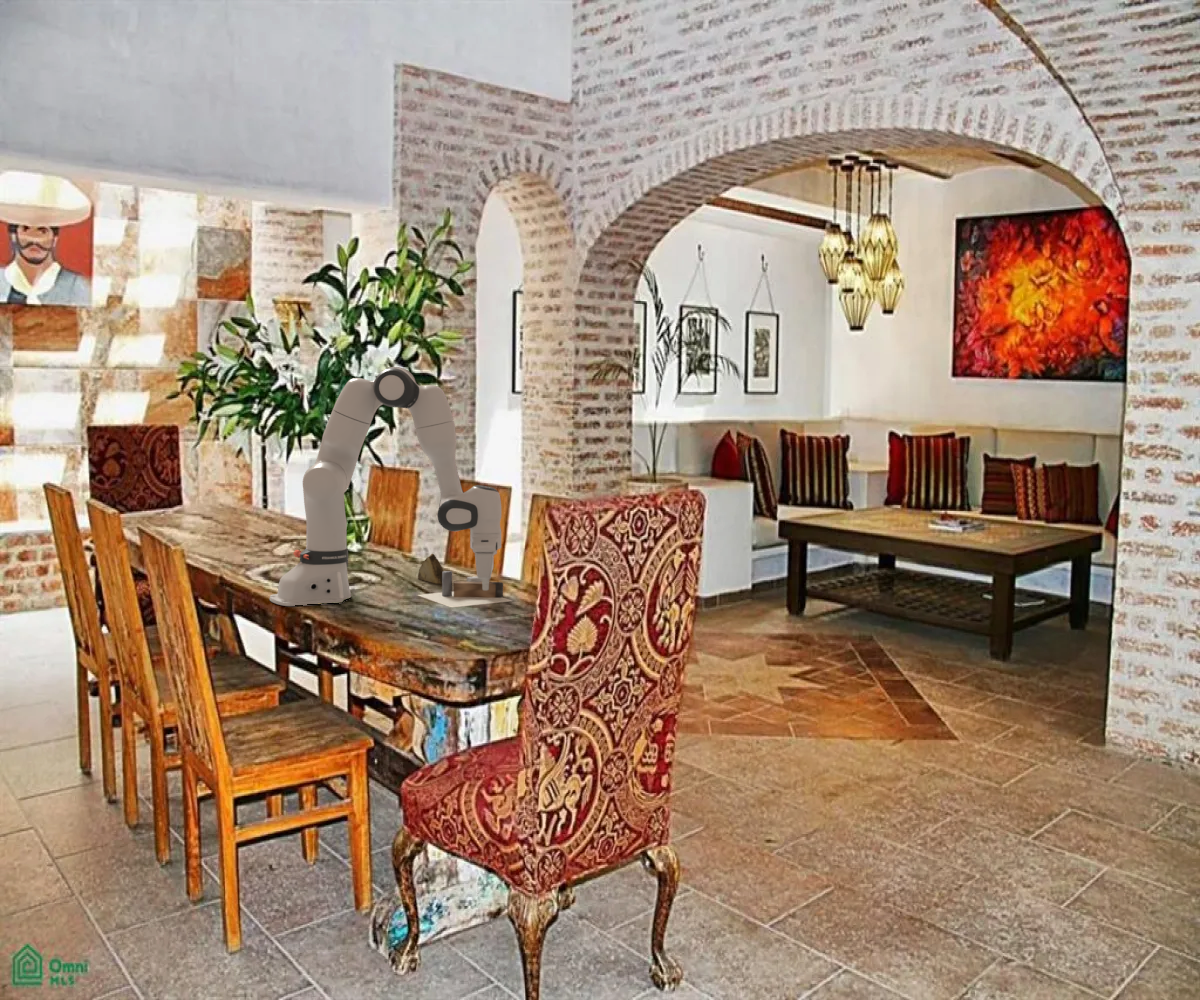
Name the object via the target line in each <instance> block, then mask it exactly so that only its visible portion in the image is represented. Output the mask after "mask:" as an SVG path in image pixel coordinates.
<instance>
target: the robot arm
mask: <svg viewBox="0 0 1200 1000" xmlns="http://www.w3.org/2000/svg"><path fill="white" fill-rule="evenodd" d="M447 398H448V397H447V396H446V393H445V392H444V390H443V389H442V388H441V387H440V386H437V385H433V384H429V385H428V384H427V385H420V384H418V383H417V381H416V378H415V376H414V374H413V373H412V372H410V371H409V370H407V369H406V368H404V367H400V366H391V367H388V368H386V369H384V370H382V371H380V372H378V374H377V375H376V377H375V379H374V380H368V379H365V378H361V377H355V378H354V377H353V378H351V379H349V380H348V381H347V382H346V383H345V385H344V386H343V388H342V389H341V392H340V393H339V395H338V397H337V399H336V401H335V403H334V406H333V408H332V409H331V410H332V411H331V412H330V413H331V414H330V416H329V417H328V421H327V424H326V426H325V429H324V431H323V434H322V438H321V444H320V447H319V450H318V453H317V457H316V460H315V462H314V464H313V465H311V466H309V468H307V470H306V471H305V473H304V475H303V477H302V478H303V479H302V488H303V489H302V491H303V503H304V510H305V512H304V513H305V520H306V521H305V522H306V528H305V529H306V535H305V536H306V538H305V539H306V541H305V542H306V544H305V545H306V548H305V549H304V550H299V549H295V550H294V552H293V553H292V554H293V555H294V557H295V558H299V562H298V563H297V564H296V565H295V566H294V567H292V568H291V569H289V571H287V572H286V573H285V574H283V575H282V576H281V577H280V579H279V582H278V588H277V593H275V594H274V593H273V594H270V595H269V601H270V602H271V603H274V604H276V605H280V606H285V607H296V606H295V605H303V606H308V605H307V604H318V603H332V602H342V601H343V600H344V599H347V598H350V597H351V596H352V593H351V589H350V588H351V587H350V585H349V576H348V567H349V550H348V548H347V517H346V508H345V493H346V491H347V490H348V489H349V486H350V484H351V481H352V479H353V476H354V472H355V469H356V466H357V463H358V459H359V455H360V453H361V450H362V447H363V445H364V441H366V437H367V434H368V431H369V429H370V426H371V424H372V421H373V419H374V416H375V414H376V412H377V410H378V409H379V408H380V407H381V406H383V405H384V406H387V407H390V408H401V409H406V410H408V411H409V412H410V414H411V418H412V421H413V426H414V430H415V433H416V434H415V435H416V437H417V440H418V443H419V445H420V447H421V450H422V452H423V453H424V454H425V455H426V456H427V458H428V459H429V460H430V461H431V463H432V466H433V469H434V471H435V476H436V479H437V483H438V484H437V485H438V487H439V492H440V500H439V505H438V510H437V520H438V523H439V525H440V526H441V527H442V528H443V529H445V530H446V531H449V532H459V531H464V530H470V531H469V534H470V536H469V537H470V539H469V541H470V542H469V543H470V545H469V546H470V549H471V550H472V552H473V553H474V557H475V559H474V560H475V569H476V576H477V577H478V579H481V580H482V589H483V590H489V582H490V580H491V578H492V574H493V569H494V563H495V562H494V557H495V555H497V554H498V550H500V549H501V548H502V528H501V519H502V501H501V500H502V499H501V494H500V493H499V491H498V490H497V489H496V488H495V487H492V486H488V485H487V486H486V485H481V484H477V485H473V486H472V487H471V488H469V489H467V490H466V491H464V490H463V488H462V484H461V479H460V477H459V476H460V475H459V471H458V467H457V461H456V454H457V453H456V452H457V451H456V450H457V433H456V425H455V421H454V416H453V413H452V410H451V406H450V403H449V401H448V399H447Z"/></svg>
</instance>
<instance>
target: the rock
mask: <svg viewBox="0 0 1200 1000" xmlns="http://www.w3.org/2000/svg"><path fill="white" fill-rule="evenodd" d="M443 571H444V568H443V566H442V564H441V562H440V561H439V559H438V558H437V557H436V554H434V553H431V554H430V555H429V556H427V557H426V559H424V561H423V562H422V563H421V564H420V567H419V569H418V574H417V580H421V581H425V582H428V583H432V584H437V585H439V584H442V572H443Z"/></svg>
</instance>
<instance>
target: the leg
mask: <svg viewBox="0 0 1200 1000" xmlns="http://www.w3.org/2000/svg"><path fill="white" fill-rule="evenodd" d="M453 591H454V597H491V598H501V597H503V598H504V582H501V581H489V590H483V589H482V582H467V581H462V580H461V581H455V580H454V582H453Z"/></svg>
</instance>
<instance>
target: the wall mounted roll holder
mask: <svg viewBox="0 0 1200 1000" xmlns="http://www.w3.org/2000/svg"><path fill="white" fill-rule="evenodd" d="M466 582H482V580H481V579H478V577H477V575H476V576H467V577H466ZM417 596H418V597H421V598H423V599H426V600H429V601H432V602H435V603H436V604H437V603H438V604H440V605H443V606H446V607H448V608H461V607H470V606H480V605H488V604H489V605H490V604H498V603H507V602H508V603H509V602H513V600H512V599H510V598H509V599H508V598H505V597H504V596H503V597H501V598H491V597H454V590H453V571H452V570H443V572H442V583H441V592H434V593H424V594H417Z"/></svg>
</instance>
